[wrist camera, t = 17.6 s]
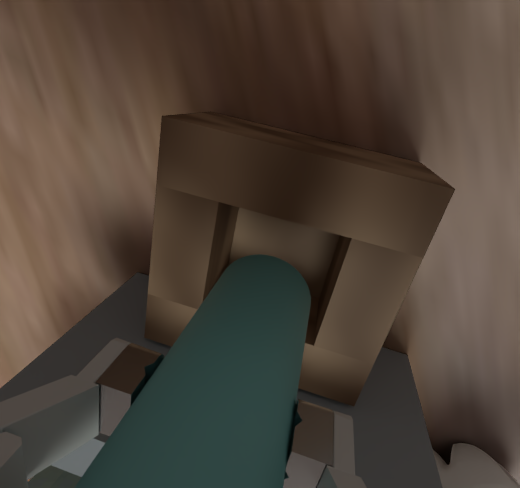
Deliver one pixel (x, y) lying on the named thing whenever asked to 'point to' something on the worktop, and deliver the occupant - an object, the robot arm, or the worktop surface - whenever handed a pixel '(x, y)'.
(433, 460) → the wall
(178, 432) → the dowel
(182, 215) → the socket block
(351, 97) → the worktop surface
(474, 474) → the water bottle
